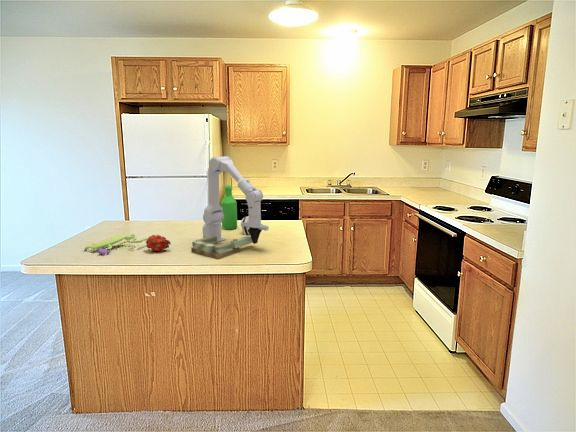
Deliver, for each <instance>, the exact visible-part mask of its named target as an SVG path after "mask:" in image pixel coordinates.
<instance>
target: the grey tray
mask: <svg viewBox="0 0 576 432" xmlns="http://www.w3.org/2000/svg"><path fill="white" fill-rule="evenodd" d="M191 244H192V247H191V252H192V253H194V254H198V255H202V256H205V257H209V258H212V259H216V260H219V259H222V258H226V257H228V256H233V255H234V254H236V253H240V252H241V247H238V248H232V244H231V242H230V243H229V242H226V243H225V242H224V243H223V242H220V241H219V242H217V236H209V237H206V238H203V237H202V238H200V239H195V240H194V241H192V243H191Z"/></svg>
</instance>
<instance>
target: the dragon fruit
mask: <svg viewBox="0 0 576 432" xmlns="http://www.w3.org/2000/svg"><path fill="white" fill-rule="evenodd" d="M147 238H148V239H147V240H145V244H146V245H145V246H146V248H147V249H151V250H152V252H156V251H157V252H166V249H169V248H170V245H172V243H171V241H170V240H169V239H167V238H166V237H165V236H161V235H160V234H157V235H155V234H151V235H150V236H148V237H147Z"/></svg>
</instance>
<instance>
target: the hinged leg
mask: <svg viewBox="0 0 576 432" xmlns="http://www.w3.org/2000/svg"><path fill="white" fill-rule="evenodd" d="M230 243H231V244H232V248H238V247H240V248H241V247H243V246H246V245H249V244H253V242H252V238H251V236H250V234H248V235H244V236H242V237H239V238H233V239H231V241H230Z"/></svg>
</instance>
